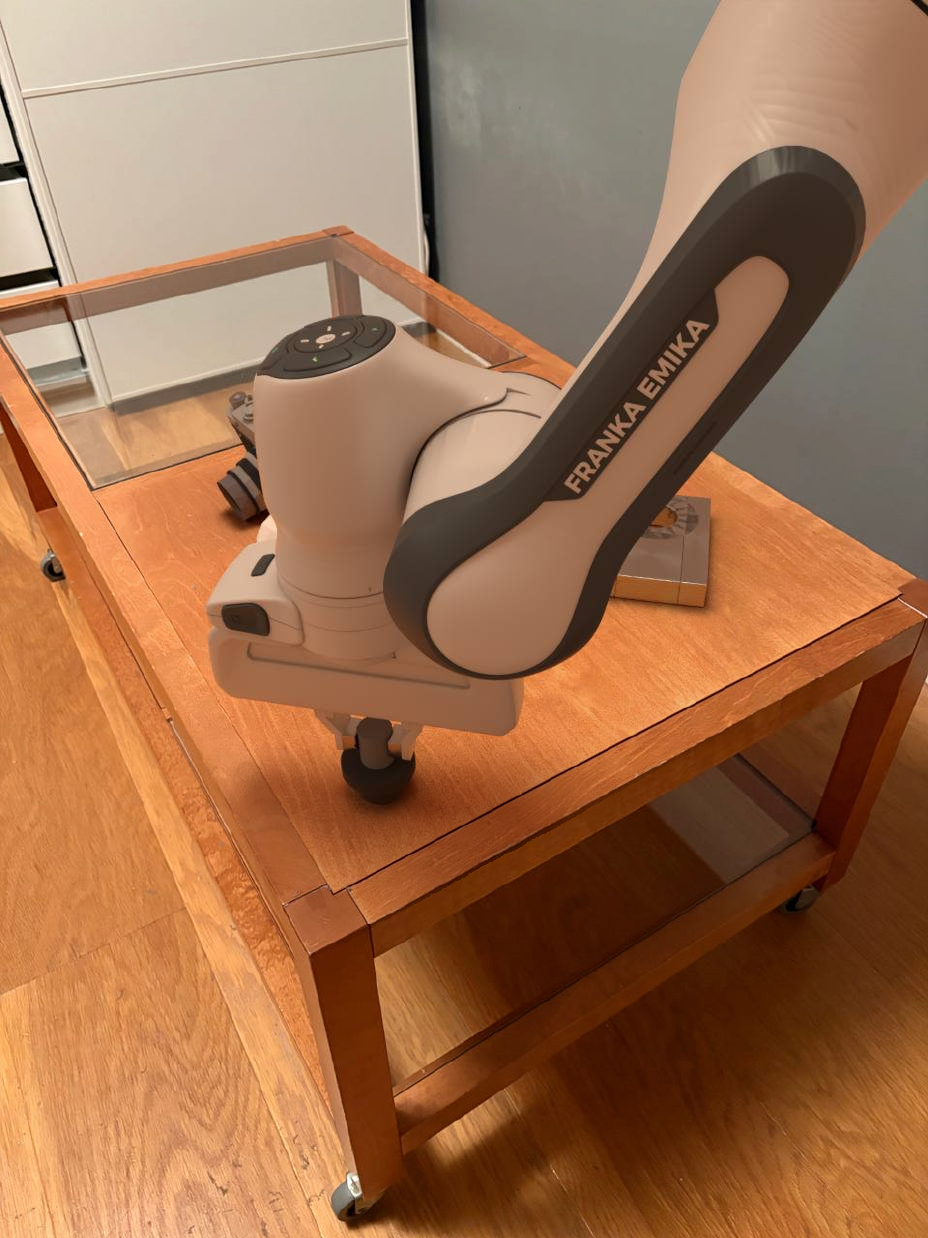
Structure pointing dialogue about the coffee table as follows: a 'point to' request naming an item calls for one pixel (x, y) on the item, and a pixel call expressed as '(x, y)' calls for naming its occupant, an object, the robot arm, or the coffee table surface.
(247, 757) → the coffee table surface
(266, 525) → the perfume bottle
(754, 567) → the coffee table surface
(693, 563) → the drain plate
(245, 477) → the camera
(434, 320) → the coffee table surface
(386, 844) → the coffee table surface
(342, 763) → the stopper
